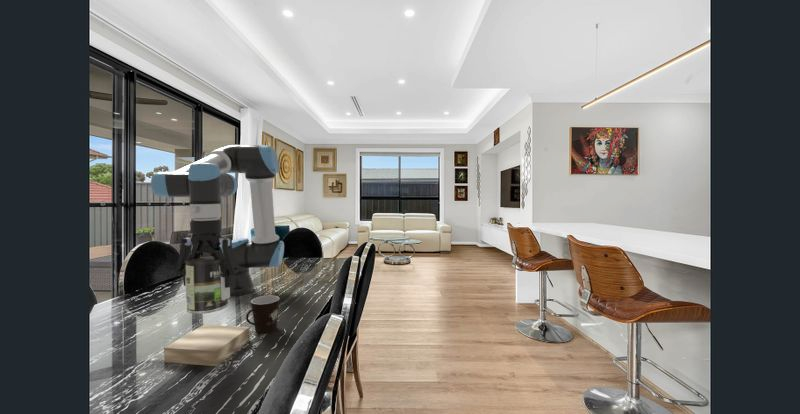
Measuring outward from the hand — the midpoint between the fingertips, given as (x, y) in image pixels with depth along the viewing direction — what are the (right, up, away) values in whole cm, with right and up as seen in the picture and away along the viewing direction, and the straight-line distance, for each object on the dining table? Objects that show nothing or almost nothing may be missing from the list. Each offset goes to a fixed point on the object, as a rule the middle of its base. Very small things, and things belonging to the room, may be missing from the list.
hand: (208, 297), depth 93 cm
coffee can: (0, -3, 0) cm, 3 cm away
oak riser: (0, -15, +1) cm, 15 cm away
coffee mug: (+9, -15, +14) cm, 22 cm away
